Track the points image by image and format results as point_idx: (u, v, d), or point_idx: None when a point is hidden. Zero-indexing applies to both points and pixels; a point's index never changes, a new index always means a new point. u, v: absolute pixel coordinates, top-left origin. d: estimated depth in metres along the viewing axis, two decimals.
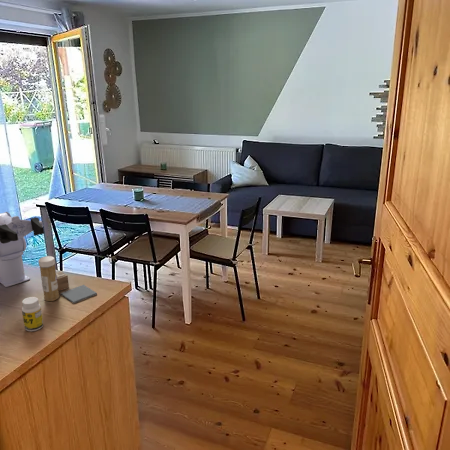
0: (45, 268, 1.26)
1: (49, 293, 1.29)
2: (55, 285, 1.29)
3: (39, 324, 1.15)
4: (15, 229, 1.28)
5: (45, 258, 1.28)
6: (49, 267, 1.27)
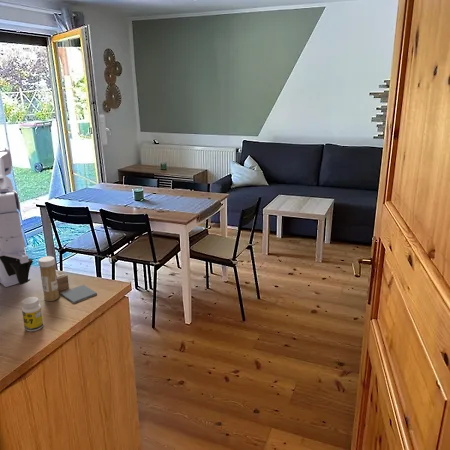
0: (45, 268, 1.26)
1: (49, 293, 1.29)
2: (55, 285, 1.29)
3: (39, 324, 1.15)
4: None
5: (45, 258, 1.28)
6: (49, 267, 1.27)
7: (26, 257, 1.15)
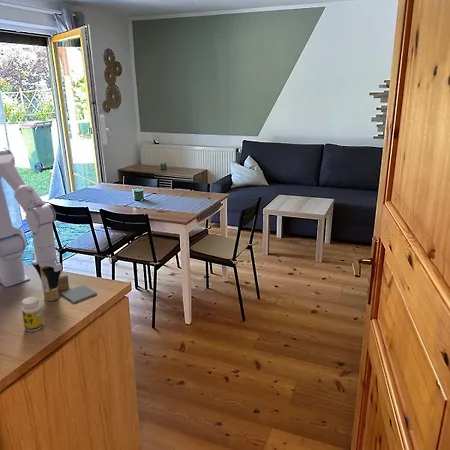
0: None
1: (49, 293, 1.29)
2: None
3: (39, 324, 1.15)
4: None
5: None
6: None
7: (60, 265, 1.23)
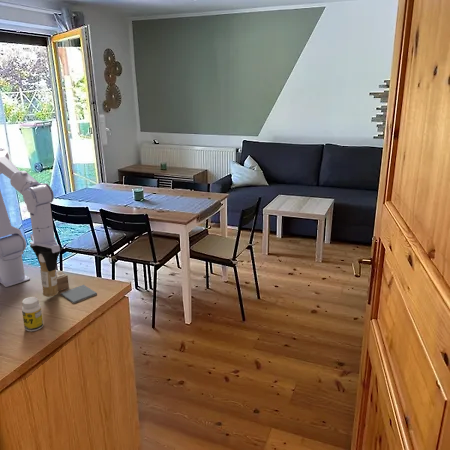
0: (45, 263, 1.26)
1: (48, 288, 1.28)
2: (55, 280, 1.29)
3: (39, 324, 1.15)
4: None
5: None
6: None
7: (58, 246, 1.21)
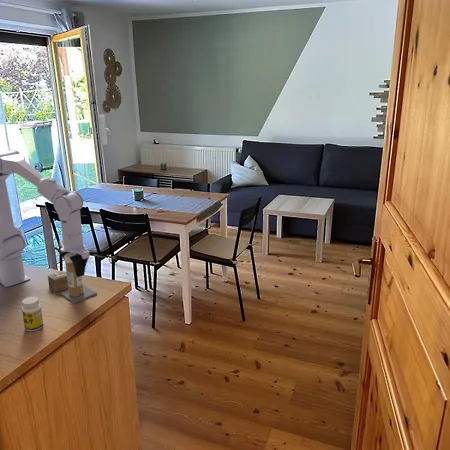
0: (71, 264, 1.28)
1: (74, 289, 1.31)
2: (80, 281, 1.31)
3: (39, 324, 1.15)
4: None
5: (70, 254, 1.29)
6: None
7: (87, 253, 1.25)
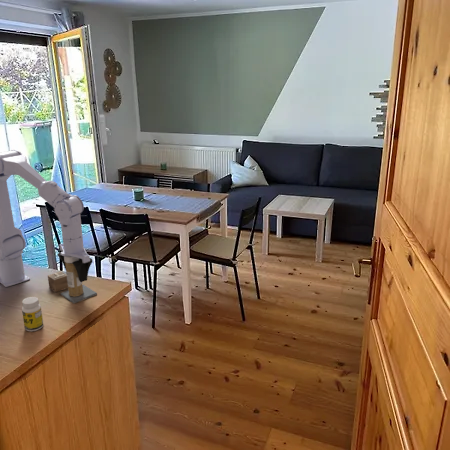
0: (71, 264, 1.28)
1: (74, 288, 1.31)
2: None
3: (39, 324, 1.15)
4: None
5: None
6: None
7: (88, 257, 1.25)
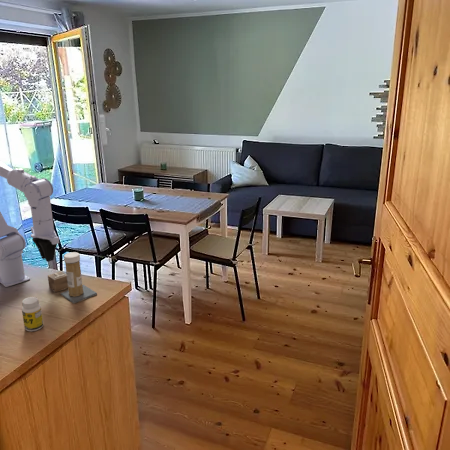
0: (71, 264, 1.28)
1: (74, 289, 1.31)
2: (80, 281, 1.31)
3: (39, 324, 1.15)
4: None
5: (70, 254, 1.29)
6: (75, 263, 1.28)
7: (57, 239, 1.27)
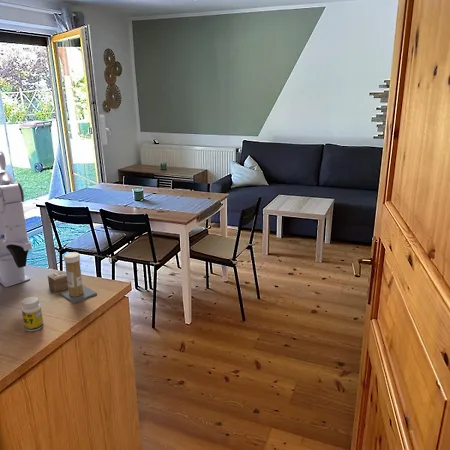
0: (71, 264, 1.28)
1: (74, 289, 1.31)
2: (80, 281, 1.31)
3: (39, 324, 1.15)
4: None
5: (70, 254, 1.29)
6: (75, 263, 1.28)
7: (29, 244, 1.22)
